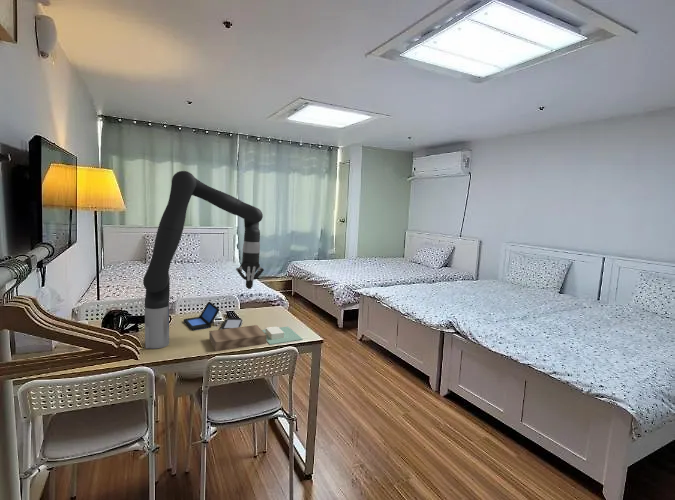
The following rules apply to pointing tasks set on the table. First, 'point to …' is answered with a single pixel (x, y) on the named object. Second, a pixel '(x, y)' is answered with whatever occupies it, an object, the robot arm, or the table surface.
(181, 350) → the table surface
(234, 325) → the gaming console
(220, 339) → the block
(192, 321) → the handheld game console
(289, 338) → the mat
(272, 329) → the tile
